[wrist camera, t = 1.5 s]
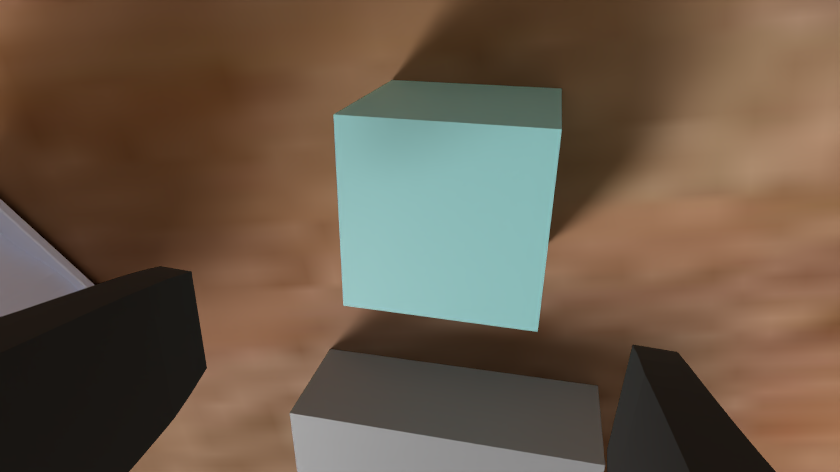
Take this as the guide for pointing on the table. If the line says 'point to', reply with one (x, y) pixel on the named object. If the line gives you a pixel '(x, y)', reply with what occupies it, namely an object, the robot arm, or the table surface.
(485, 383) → the gray block
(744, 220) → the table surface
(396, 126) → the teal cube
